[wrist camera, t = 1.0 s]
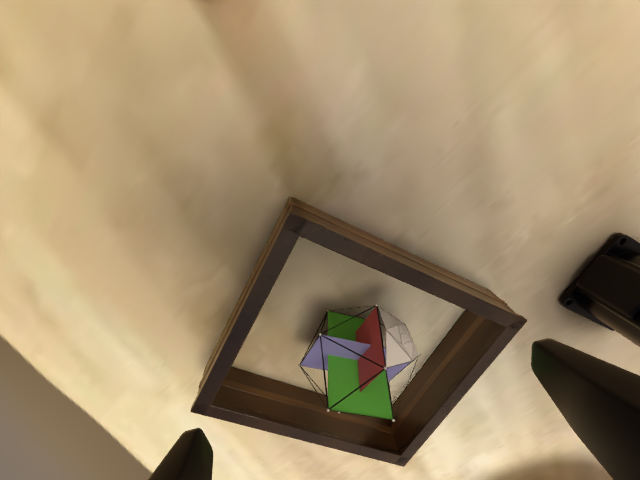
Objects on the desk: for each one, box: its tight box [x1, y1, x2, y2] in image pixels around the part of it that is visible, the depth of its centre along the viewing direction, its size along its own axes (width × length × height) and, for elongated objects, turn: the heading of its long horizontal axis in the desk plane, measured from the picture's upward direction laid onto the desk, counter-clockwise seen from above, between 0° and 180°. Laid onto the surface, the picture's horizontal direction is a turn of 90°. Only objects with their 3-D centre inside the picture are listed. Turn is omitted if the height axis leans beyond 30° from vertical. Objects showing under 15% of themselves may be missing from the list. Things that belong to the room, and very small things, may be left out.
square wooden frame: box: [191, 196, 527, 466], centre depth 22 cm, size 17×15×4 cm
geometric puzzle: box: [298, 304, 420, 422], centre depth 21 cm, size 7×7×8 cm
